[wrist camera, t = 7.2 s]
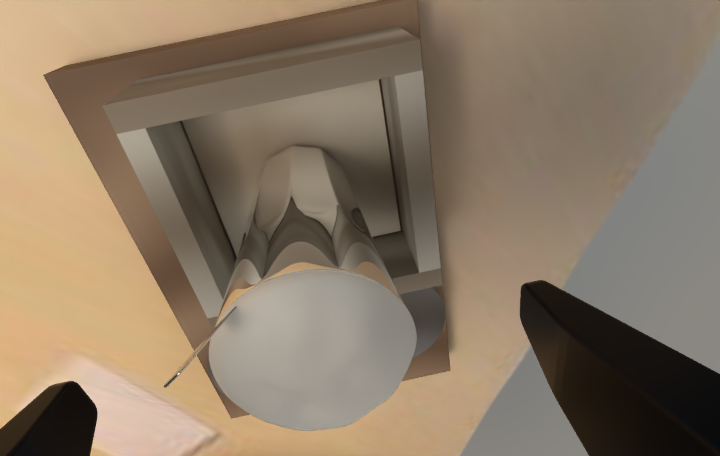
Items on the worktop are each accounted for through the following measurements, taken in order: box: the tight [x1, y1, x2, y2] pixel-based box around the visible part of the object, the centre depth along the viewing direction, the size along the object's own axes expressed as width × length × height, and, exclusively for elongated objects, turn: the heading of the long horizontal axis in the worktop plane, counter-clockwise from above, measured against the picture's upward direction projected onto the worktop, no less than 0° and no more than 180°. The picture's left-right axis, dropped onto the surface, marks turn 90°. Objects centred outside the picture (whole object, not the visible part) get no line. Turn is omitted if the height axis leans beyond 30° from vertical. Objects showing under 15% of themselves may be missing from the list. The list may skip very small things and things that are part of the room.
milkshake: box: [164, 146, 417, 431], centre depth 12 cm, size 4×5×10 cm
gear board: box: [44, 0, 450, 418], centre depth 18 cm, size 18×12×4 cm, turn 10°
